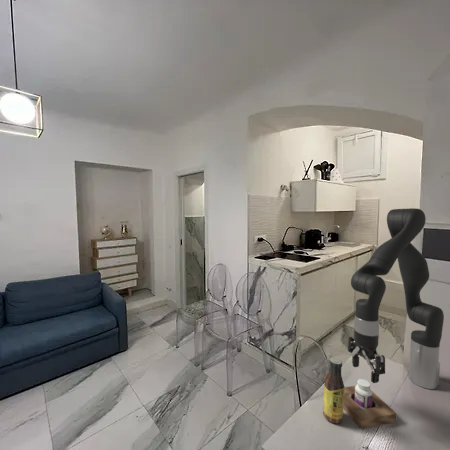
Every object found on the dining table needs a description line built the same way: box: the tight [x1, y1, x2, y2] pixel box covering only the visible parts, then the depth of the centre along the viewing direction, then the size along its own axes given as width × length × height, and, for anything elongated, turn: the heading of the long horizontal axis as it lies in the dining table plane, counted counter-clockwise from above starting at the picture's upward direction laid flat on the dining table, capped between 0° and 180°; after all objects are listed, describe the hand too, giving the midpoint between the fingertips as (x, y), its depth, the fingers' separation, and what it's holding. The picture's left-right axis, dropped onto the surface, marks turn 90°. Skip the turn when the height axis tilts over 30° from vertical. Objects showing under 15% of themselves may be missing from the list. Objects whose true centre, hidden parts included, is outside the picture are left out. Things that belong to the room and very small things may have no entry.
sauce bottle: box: [322, 356, 345, 424], centre depth 81 cm, size 7×6×20 cm
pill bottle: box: [354, 378, 373, 409], centre depth 85 cm, size 5×5×10 cm
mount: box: [343, 385, 398, 430], centre depth 86 cm, size 14×14×3 cm
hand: (364, 373), depth 85 cm, fingers open, 8 cm apart
